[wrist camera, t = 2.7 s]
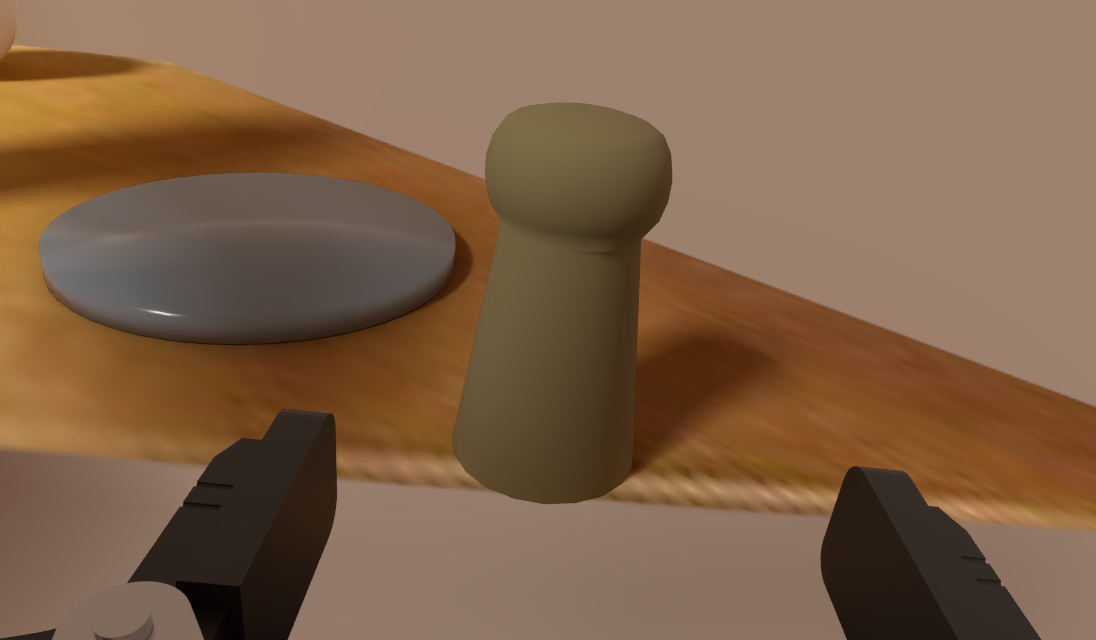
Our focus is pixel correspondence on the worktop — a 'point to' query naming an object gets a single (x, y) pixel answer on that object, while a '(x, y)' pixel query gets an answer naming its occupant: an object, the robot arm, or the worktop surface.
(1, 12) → the lidded bowl
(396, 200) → the slate plate
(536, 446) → the cork
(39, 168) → the worktop surface
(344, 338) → the worktop surface
